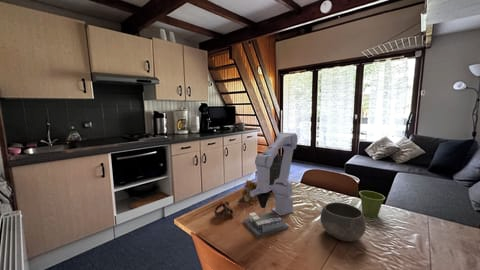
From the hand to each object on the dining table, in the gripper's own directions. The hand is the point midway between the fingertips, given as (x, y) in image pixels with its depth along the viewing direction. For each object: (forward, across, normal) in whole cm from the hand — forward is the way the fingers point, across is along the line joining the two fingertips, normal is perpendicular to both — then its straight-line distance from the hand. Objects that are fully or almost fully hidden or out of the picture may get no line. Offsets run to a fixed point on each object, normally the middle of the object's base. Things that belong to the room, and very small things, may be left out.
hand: (262, 207), depth 98 cm
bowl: (+10, -23, +26) cm, 37 cm away
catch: (+8, +2, -4) cm, 9 cm away
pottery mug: (+10, +9, -20) cm, 24 cm away
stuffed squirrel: (+10, -15, -26) cm, 32 cm away
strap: (+8, -2, +2) cm, 8 cm away
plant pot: (+10, -55, +26) cm, 62 cm away
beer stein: (+10, -42, -32) cm, 54 cm away
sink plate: (+10, -2, 0) cm, 10 cm away
